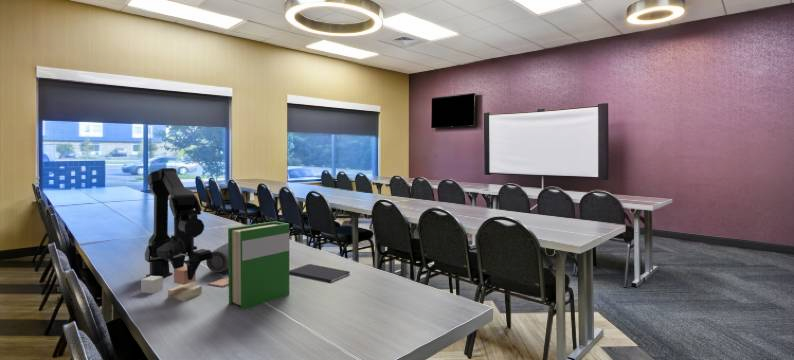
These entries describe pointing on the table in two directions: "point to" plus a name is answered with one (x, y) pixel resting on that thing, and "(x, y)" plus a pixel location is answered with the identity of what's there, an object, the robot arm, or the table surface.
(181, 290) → the maple base block
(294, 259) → the table surface
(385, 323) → the table surface
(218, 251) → the bluetooth speaker
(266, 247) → the hardback book
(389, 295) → the table surface
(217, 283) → the tile
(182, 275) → the terracotta cube
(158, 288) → the offwhite cube
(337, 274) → the notebook
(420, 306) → the table surface
